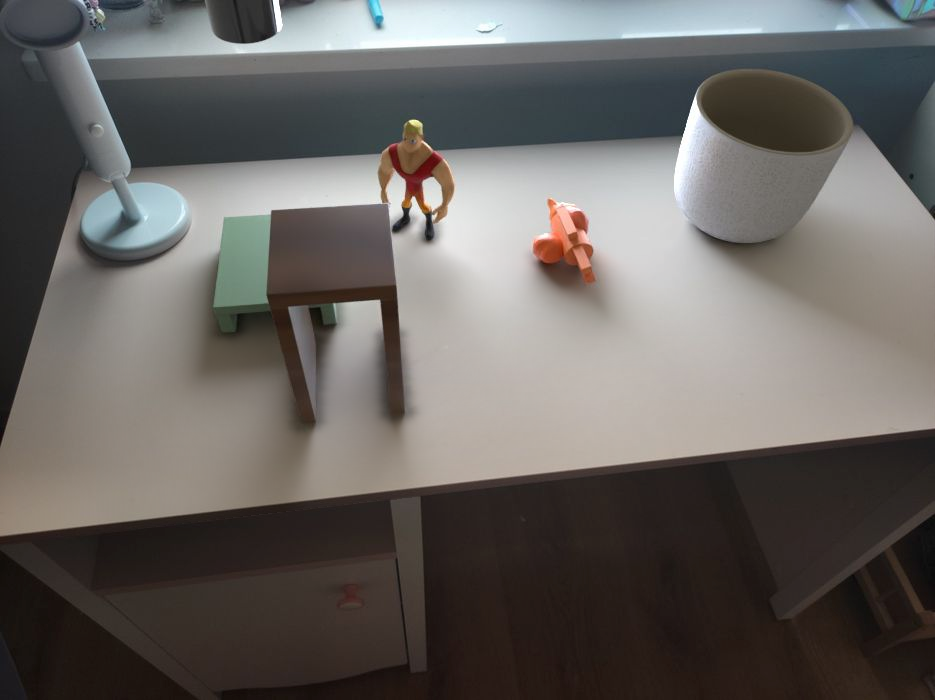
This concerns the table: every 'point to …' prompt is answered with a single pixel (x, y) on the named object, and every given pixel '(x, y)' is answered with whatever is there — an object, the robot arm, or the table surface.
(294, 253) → the high shelf
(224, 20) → the glossy black cylinder
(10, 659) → the robot arm
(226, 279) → the low shelf
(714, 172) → the planter
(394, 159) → the action figure
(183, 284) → the table surface
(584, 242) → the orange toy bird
